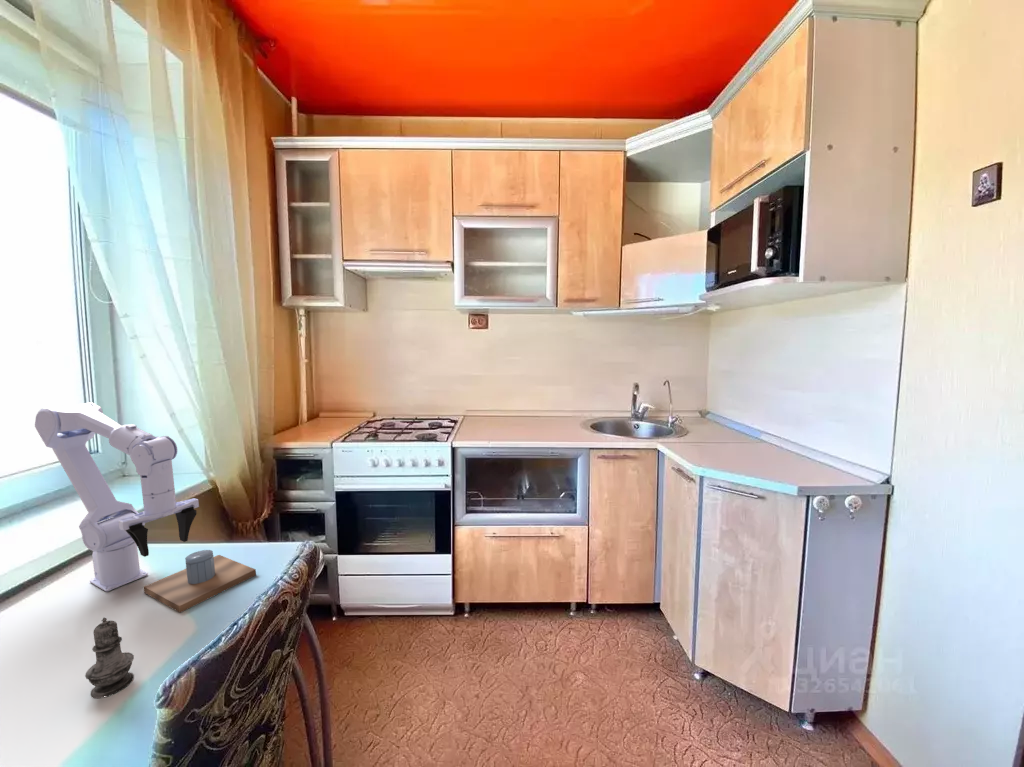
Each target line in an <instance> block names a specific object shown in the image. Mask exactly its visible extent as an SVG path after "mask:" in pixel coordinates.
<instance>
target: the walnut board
mask: <svg viewBox="0 0 1024 767" xmlns="http://www.w3.org/2000/svg"><path fill="white" fill-rule="evenodd" d="M213 557H214V567H215V575H214V577H213V578H211V579H209V580H207V581H205V582H202V583H198V584H190V583H188V580H187V571H186V568H184V569H181V570H179V571H177V572H174V573H172V574H170V575H168V576H166V577H162V578H160V579H158V580H155V581H154V582H151V583H148V584H145V585H144V586H143V592H144V594H146V595H147V594H148V596H149V595H150V598H153V599H155V600H156V599H157V601H158V602H160V603H161V604H163V603H164V605H166V606H167V607H169V608H171V609H172V608H173V610H175V612H178V613H183V612H184V611H187V610H188V609H191V608H193V607H195V606H197V605H198V604H201V603H203V602H205V601H207V600H208V599H211V598H212V597H215V596H217V595H219V594H221V593H223V592H225V591H227V590H229V589H231V588H233V587H235V586H237V585H239V584H241V583H243V582H245V581H247V580H249V579H251V578H253V577H255V576H257V572H256V569H255V568H253V567H252V566H249V565H246V564H243V563H241V562H239V561H236V560H234V559H231V558H228V557H225V556H223V555H221V554H217V555H215V556H213ZM224 590H225V591H224ZM222 591H223V592H222ZM218 593H219V594H218ZM214 595H215V596H214ZM210 597H211V598H210Z"/></svg>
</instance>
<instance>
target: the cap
mask: <svg viewBox="0 0 1024 767" xmlns="http://www.w3.org/2000/svg"><path fill="white" fill-rule="evenodd" d="M214 557H215V556H214V552H213V550H211V549H204V550H198V551H195V552H192V553H191V554H189V555H186V557H185V569H186V571H187V580H188V583H190V584H198V583H202V582H205V581H207V580H209V579H211V578H213V577H214V575H215V567H214Z"/></svg>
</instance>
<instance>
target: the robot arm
mask: <svg viewBox="0 0 1024 767" xmlns="http://www.w3.org/2000/svg"><path fill="white" fill-rule="evenodd" d="M34 427H35V429H36V431H37V433H38V435H39V436H40V438H41V440H42V442H43V443H44V444H45V446H46V447H47V448H50V449H52V451H53V453H54V454H55V456H56V458H57V459H58V462H59V463H60V465H61V466H62V469H63V470H64V472H65V473H66V475H67V477H68V479H69V481H70V483H71V485H72V486H73V488H74V490H75V492H76V494H77V495H78V497H79V498H80V500H81V502H82V503H83V505H84V507H85V510H87V514H86V516H85V517H84V518H83V519H82V520H81V522H80V523H79V525H78V528H79V530H80V532H81V536H82V537H81V539H82V543H83V544H84V546H85V547H86V548H87V549H88V550H90V551H92V556H91V557H92V564H93V572H94V573H93V574H94V578H91V579H90V580H89V582H90V583H91V584H93V585H94V586H96V587H98V588H99V589H101V590H102V591H104V592H110V591H112V590H114V589H117V588H119V587H121V586H124V585H127V584H129V583H131V582H135V581H136V580H138V579H142V578H144V577H146V576H148V575H149V573H148V572H147V571H145V570H143V569H141V567H140V560H139V555H140V556H142V557H148V556H149V555H150V554H149V553H150V552H149V551H150V550H149V544H148V532H149V531H148V530H149V529H148V528H147V527H145V524H147V523H150V522H153V521H155V520H158V519H162V518H166V517H169V516H172V515H175V518H176V521H177V525H178V536H179V540H180V541H181V542H183V543H185V542H188V541H189V534H190V530H191V528H192V524H193V521H194V519H195V518H196V516H197V514H198V513H197V510H196V509H197V508H200V504H199V503H200V502H199V499H198V498H189V499H185V500H181V501H177V500H176V497H177V496H176V490H175V481H174V480H175V479H174V469H173V460H175V458H176V457H177V454H178V446H177V443H176V442H175V440H174V439H172V438H171V437H169V436H168V435H163V436H155V435H153V434H152V433H149V432H147V431H145V430H142V429H141V428H139V427H137V425H136V424H134V423H131V424H130V423H129V424H123V425H121V424H120V423H118V422H117V421H115V420H114V419H112V418H110V417H109V416H107V415H106V414H104V412H103V409H102V406H99V405H97V404H96V403H94V402H92V401H89V402H85V403H84V402H83V403H79V404H72V405H62V406H55V407H43V408H40V409H39V411H38V412H37V413H36V415H35V422H34ZM95 434H97V435H98V436H102V437H104V438H107V439H108V443H109V445H110V447H111V446H112V447H113V448H114V449H117V450H119V451H120V452H122V453H124V454H125V455H128V456H129V457H130V460H131V462H132V464H133V465H134V467H135V469H136V470H135V472H136V473H137V475H138V476H139V478H140V483H141V484H140V486H141V495H142V502H143V510H144V511H141V512H138V511H137V510H136V509H135V507H134V506H133V504H132V503H129V502H124V501H119V500H117V499H116V497H115V494H114V493H113V492H112V489H111V488H110V486H109V484H108V483H107V481H106V479H105V477H104V476H103V474H102V473H101V470H100V468H99V467H98V466H97V464H96V461H95V460H94V458H93V456H92V454H91V453H90V451H89V450H88V448H87V446H86V444H87V442H88V441H90V440H91V439H93V438H94V436H95ZM138 551H139V552H138Z"/></svg>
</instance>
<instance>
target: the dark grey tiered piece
mask: <svg viewBox="0 0 1024 767" xmlns="http://www.w3.org/2000/svg"><path fill="white" fill-rule="evenodd" d="M93 639H94V646H93V647H92V652H93V653H95V659H96V661H95V663H94V664H93V665H92V666H90V667H89V668H88V669H87V671H86V672H85V675H84V677H85V678H86V680H88V681H89V683H90V684H91V685H92V686H94V687H93V688H92V689H91V691H90V695H89V696H91V698H92V697H93V699H102V698H101V697H104V696H107V697H110V696H113V695H115V694H117V693H119V692H120V691H123V690H124V689H126V688H127V687H128V686H129V685H130V684H131V683H132V682H133V680H134V679H135V674H134V673H133V672H130V670H131V667H132V665H133V660H134V659H135V658H134V657H135V655H134V654H133V653H132V652H127V651H125V652H122V647H121V643H122V641H123V638H122V636H119V631H118V623H117V622H116V621H115V620H108V618H106V617H104V616H103V617H102V619H101V622H100V623H99V624H98V625H97V626H95V628H94V629H93ZM112 694H113V695H112ZM109 695H110V696H109ZM104 698H105V697H104Z"/></svg>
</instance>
